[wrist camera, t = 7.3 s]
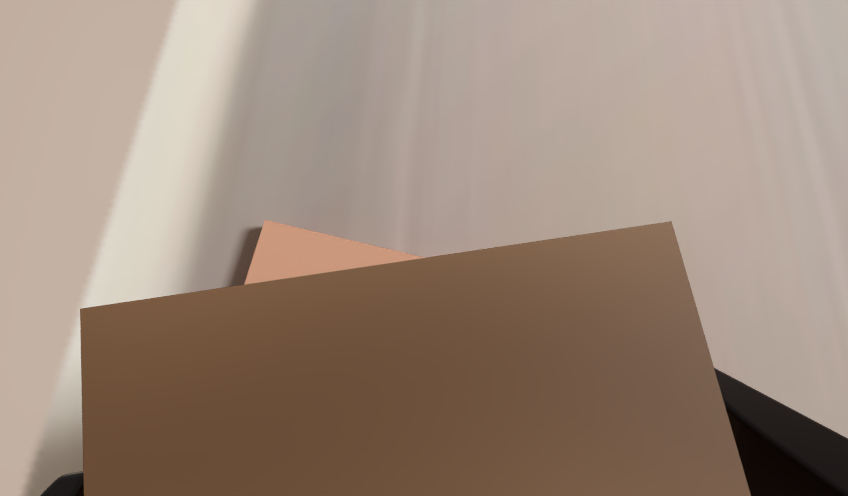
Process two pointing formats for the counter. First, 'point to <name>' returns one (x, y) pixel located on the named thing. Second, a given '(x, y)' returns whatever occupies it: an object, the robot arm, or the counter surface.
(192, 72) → the counter surface
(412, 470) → the walnut block
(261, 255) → the terracotta tile
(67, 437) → the counter surface
